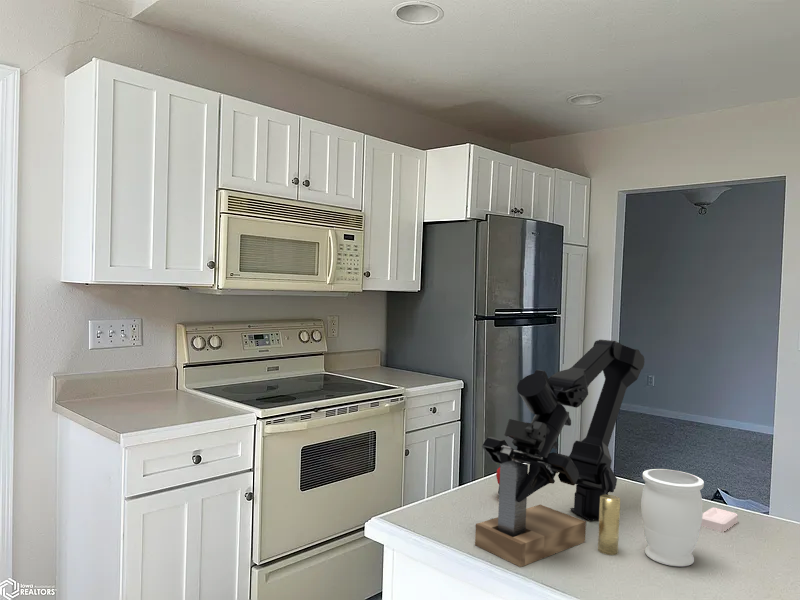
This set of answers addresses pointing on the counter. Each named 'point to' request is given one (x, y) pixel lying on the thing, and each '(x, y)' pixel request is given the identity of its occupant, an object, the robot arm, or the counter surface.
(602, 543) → the round bit
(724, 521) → the soap bar
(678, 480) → the jar
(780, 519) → the counter surface
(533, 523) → the socket block
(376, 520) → the counter surface
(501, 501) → the square bit
